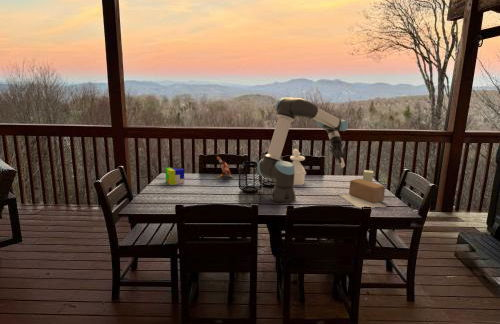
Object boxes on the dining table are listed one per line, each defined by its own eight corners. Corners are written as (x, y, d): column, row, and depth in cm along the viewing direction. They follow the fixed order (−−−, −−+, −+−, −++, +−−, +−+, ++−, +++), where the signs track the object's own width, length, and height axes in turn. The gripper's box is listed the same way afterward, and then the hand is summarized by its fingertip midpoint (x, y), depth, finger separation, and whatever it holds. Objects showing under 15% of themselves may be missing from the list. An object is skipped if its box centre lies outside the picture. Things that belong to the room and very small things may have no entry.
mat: (340, 196, 215) (340, 195, 215) (365, 195, 219) (365, 194, 219) (358, 208, 193) (358, 207, 193) (385, 207, 197) (386, 206, 197)
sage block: (361, 191, 227) (363, 171, 223) (362, 189, 232) (364, 169, 229) (370, 192, 224) (373, 172, 221) (371, 190, 230) (373, 170, 227)
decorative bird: (208, 168, 264) (216, 151, 262) (229, 177, 268) (237, 160, 265) (208, 178, 237) (216, 159, 234) (231, 187, 240) (240, 168, 238)
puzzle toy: (184, 183, 236) (184, 169, 233) (171, 185, 230) (170, 171, 228) (178, 179, 244) (178, 166, 241) (165, 181, 238) (165, 168, 236)
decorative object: (282, 181, 247) (283, 148, 242) (297, 179, 253) (299, 147, 248) (294, 186, 234) (296, 152, 228) (309, 184, 240) (311, 150, 234)
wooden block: (348, 194, 217) (373, 203, 201) (349, 180, 215) (375, 188, 199) (358, 192, 223) (384, 201, 206) (359, 178, 221) (386, 185, 204)
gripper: (341, 141, 245) (349, 168, 233) (324, 141, 243) (332, 169, 231) (345, 135, 239) (354, 163, 227) (328, 135, 236) (336, 164, 224)
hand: (343, 166), depth 229 cm, fingers closed
